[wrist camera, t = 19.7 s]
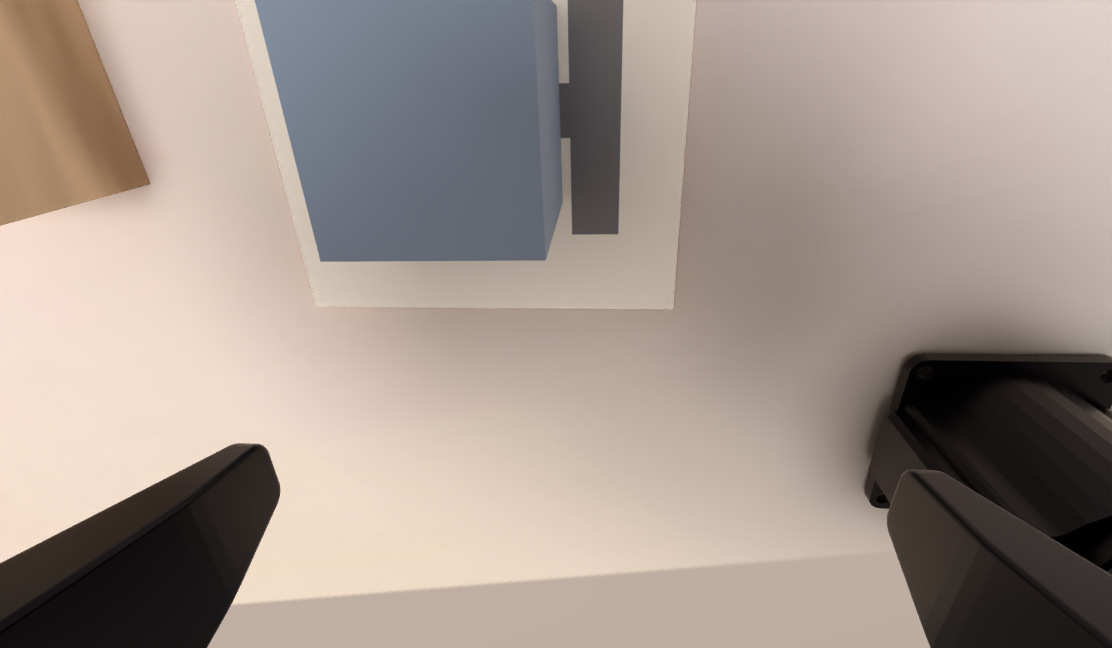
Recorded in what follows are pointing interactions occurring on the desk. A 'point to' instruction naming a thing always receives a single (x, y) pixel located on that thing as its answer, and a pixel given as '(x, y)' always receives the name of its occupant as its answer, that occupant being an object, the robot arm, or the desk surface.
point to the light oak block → (57, 114)
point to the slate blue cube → (422, 125)
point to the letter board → (587, 176)
